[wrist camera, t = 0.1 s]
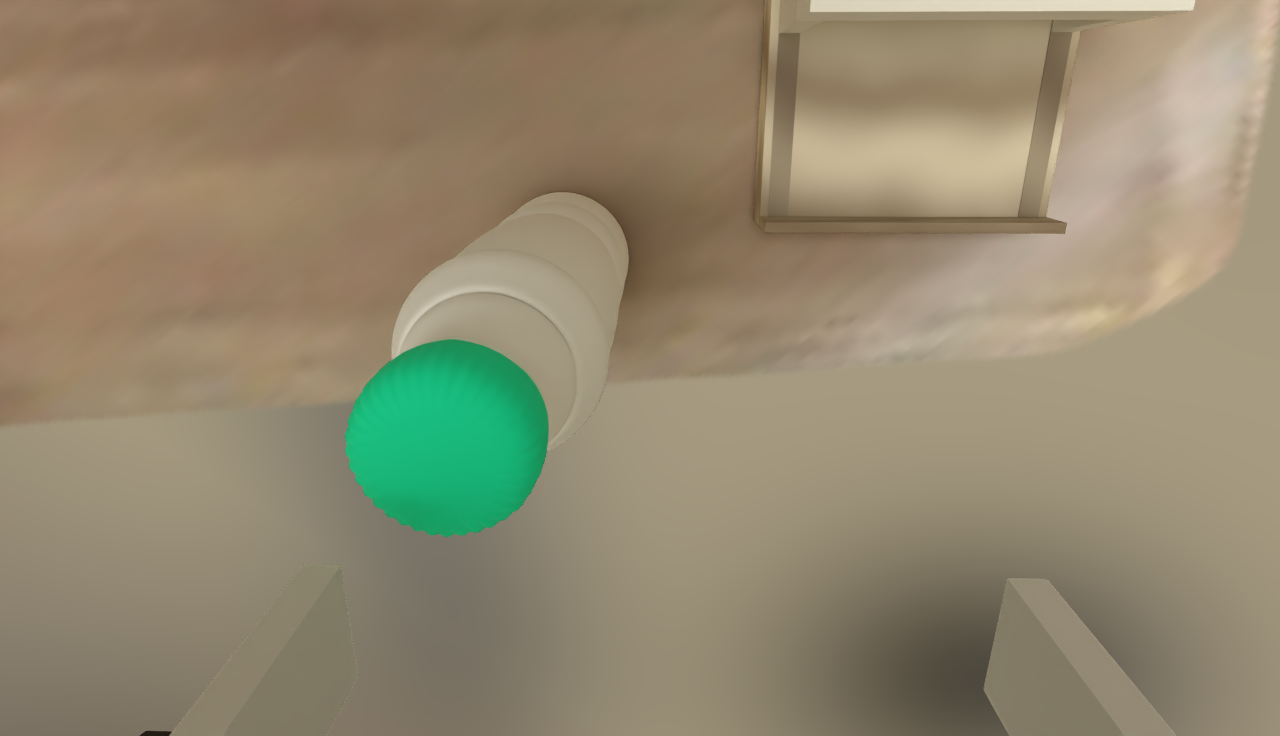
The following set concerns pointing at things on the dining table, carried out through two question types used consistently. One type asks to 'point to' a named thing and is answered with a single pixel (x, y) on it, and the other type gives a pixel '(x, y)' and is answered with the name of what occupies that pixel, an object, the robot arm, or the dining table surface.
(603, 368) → the water bottle
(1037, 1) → the cream bridge stand
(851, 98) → the beige rail frame
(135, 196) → the dining table surface
